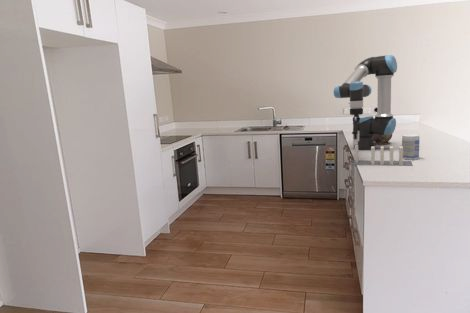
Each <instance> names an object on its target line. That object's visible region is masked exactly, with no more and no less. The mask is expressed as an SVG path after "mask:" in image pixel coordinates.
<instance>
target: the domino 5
mask: <svg viewBox="0 0 470 313" xmlns="http://www.w3.org/2000/svg"><path fill="white" fill-rule="evenodd" d="M398 148H399V149H398V161H399V165H403V161H404V159H403V146H402V145H401V146H398Z"/></svg>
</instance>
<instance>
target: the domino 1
mask: <svg viewBox="0 0 470 313" xmlns="http://www.w3.org/2000/svg"><path fill="white" fill-rule="evenodd" d="M354 160H355V162H358V160H359V150H358V145H355V149H354Z"/></svg>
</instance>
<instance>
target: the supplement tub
mask: <svg viewBox="0 0 470 313" xmlns="http://www.w3.org/2000/svg"><path fill="white" fill-rule="evenodd" d="M401 146H403V160H405V161H416V160H419V159H420V134H412V133H411V134H410V133H409V134H402V136H401Z"/></svg>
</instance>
